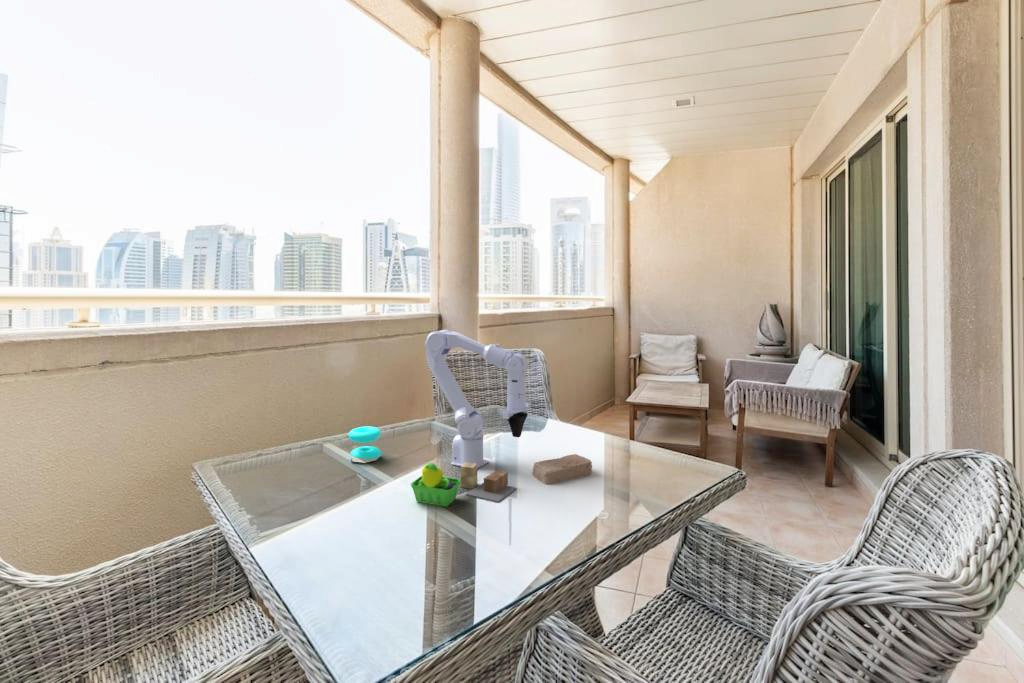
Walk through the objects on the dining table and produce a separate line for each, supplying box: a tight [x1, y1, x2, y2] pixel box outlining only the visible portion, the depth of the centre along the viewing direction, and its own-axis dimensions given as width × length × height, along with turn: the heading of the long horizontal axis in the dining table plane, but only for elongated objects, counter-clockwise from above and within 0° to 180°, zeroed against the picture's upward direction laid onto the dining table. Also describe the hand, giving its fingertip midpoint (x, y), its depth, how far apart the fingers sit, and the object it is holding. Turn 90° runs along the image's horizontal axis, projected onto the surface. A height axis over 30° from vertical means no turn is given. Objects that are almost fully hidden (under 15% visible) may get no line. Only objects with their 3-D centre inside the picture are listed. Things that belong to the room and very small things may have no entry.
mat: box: [465, 482, 517, 504], centre depth 136 cm, size 10×10×1 cm
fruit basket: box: [410, 462, 461, 507], centre depth 129 cm, size 11×9×11 cm
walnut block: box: [483, 469, 509, 493], centre depth 137 cm, size 4×4×7 cm
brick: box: [532, 453, 593, 485], centre depth 148 cm, size 17×8×5 cm, turn 118°
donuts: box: [348, 425, 382, 459], centre depth 162 cm, size 10×10×10 cm
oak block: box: [460, 462, 478, 490], centre depth 140 cm, size 4×4×6 cm
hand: (516, 436), depth 153 cm, fingers closed
